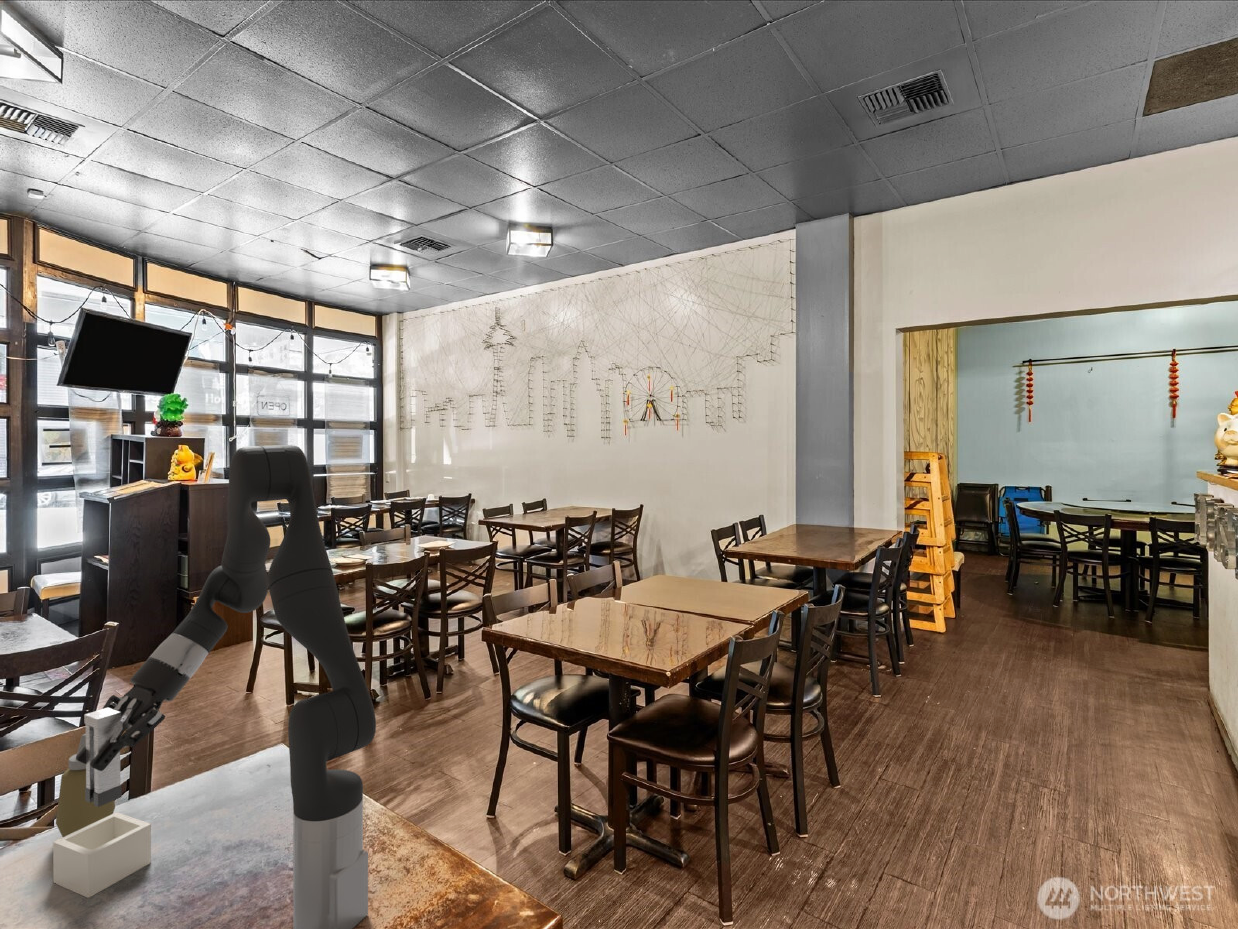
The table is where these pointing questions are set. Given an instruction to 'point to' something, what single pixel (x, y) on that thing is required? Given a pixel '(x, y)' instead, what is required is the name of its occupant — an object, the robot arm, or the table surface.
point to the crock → (101, 854)
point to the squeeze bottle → (77, 799)
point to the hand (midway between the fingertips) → (88, 765)
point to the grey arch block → (98, 734)
